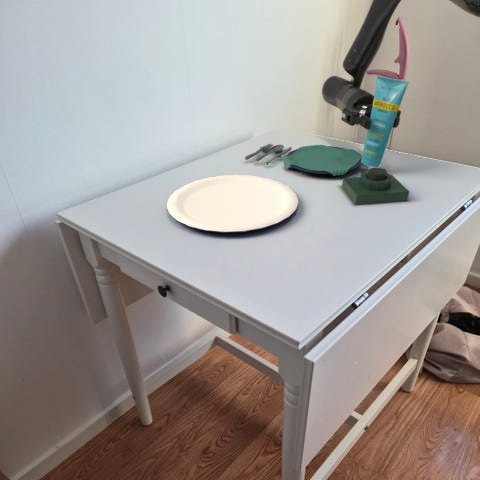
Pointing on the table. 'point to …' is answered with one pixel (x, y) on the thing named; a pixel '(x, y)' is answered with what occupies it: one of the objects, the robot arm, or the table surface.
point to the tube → (382, 118)
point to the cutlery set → (315, 158)
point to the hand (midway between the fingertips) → (383, 124)
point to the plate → (232, 203)
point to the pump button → (376, 174)
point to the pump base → (374, 189)
